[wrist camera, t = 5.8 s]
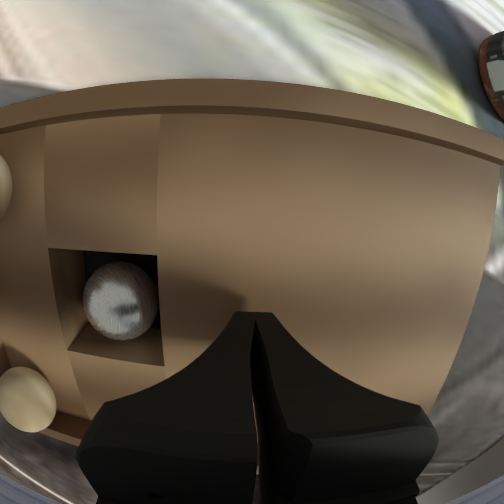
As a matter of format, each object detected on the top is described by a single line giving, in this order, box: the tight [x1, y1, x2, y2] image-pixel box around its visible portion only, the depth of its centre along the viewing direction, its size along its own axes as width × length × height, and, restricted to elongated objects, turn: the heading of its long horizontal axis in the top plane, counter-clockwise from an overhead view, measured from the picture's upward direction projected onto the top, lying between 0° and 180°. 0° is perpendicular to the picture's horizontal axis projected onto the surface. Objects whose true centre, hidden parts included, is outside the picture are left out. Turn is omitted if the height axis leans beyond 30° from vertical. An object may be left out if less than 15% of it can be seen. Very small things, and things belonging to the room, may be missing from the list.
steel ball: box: [83, 261, 159, 340], centre depth 12 cm, size 3×3×3 cm
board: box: [0, 79, 504, 474], centre depth 12 cm, size 16×24×4 cm, turn 86°
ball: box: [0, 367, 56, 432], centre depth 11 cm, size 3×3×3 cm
